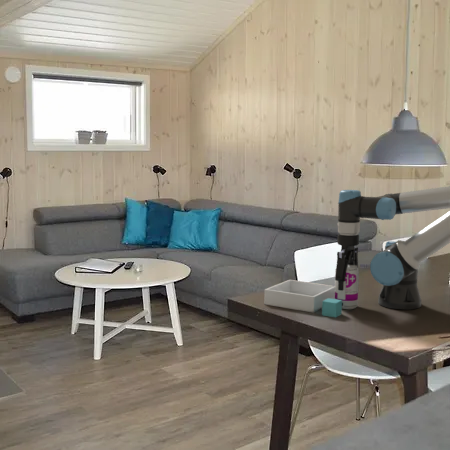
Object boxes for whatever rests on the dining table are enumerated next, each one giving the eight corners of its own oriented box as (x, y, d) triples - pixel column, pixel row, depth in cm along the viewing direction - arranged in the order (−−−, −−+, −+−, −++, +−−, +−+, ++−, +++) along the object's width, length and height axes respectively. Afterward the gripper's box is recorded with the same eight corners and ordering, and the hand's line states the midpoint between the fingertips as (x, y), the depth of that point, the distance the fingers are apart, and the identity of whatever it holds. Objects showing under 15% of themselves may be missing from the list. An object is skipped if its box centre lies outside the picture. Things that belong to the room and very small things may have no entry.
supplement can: (357, 310, 222) (359, 268, 220) (333, 308, 224) (335, 267, 222) (357, 304, 230) (359, 263, 228) (334, 303, 232) (335, 262, 230)
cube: (341, 314, 217) (341, 300, 217) (335, 317, 213) (336, 303, 213) (328, 312, 220) (328, 298, 219) (322, 315, 216) (322, 301, 215)
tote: (336, 300, 235) (336, 286, 235) (313, 312, 219) (314, 297, 218) (289, 293, 246) (289, 279, 245) (264, 304, 230) (264, 289, 229)
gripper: (349, 229, 234) (347, 289, 237) (326, 236, 217) (324, 301, 220) (369, 231, 230) (366, 292, 233) (346, 238, 213) (344, 304, 216)
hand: (346, 296), depth 227 cm, fingers closed on supplement can, 8 cm apart
